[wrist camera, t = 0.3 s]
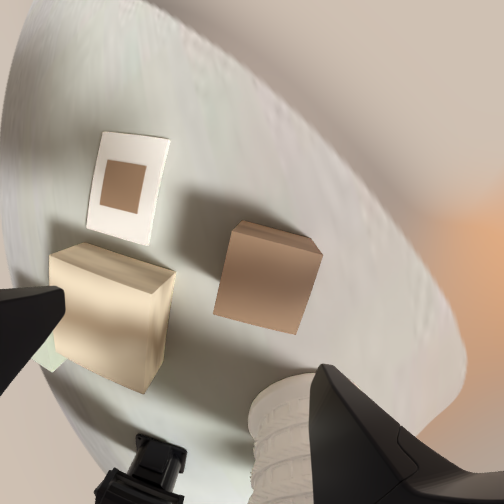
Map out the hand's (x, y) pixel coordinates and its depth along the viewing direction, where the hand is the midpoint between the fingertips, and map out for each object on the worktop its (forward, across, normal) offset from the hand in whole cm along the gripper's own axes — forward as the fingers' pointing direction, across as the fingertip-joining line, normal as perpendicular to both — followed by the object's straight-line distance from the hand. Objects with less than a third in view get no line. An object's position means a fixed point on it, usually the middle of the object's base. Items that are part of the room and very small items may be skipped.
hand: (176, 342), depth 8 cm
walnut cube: (+12, -3, 0) cm, 13 cm away
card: (+12, +9, -3) cm, 16 cm away
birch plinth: (+13, +8, +7) cm, 17 cm away
